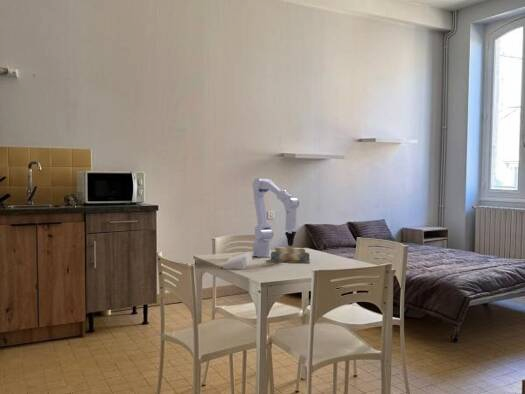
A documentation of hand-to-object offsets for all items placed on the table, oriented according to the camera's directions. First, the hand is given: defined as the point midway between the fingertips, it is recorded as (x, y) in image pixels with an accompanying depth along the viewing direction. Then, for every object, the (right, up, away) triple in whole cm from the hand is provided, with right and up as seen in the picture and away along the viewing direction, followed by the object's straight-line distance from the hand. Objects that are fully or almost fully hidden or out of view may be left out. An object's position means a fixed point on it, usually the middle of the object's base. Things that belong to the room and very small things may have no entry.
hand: (290, 245), depth 274 cm
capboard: (0, -8, 0) cm, 8 cm away
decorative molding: (-27, -9, -11) cm, 31 cm away
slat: (0, -7, 0) cm, 7 cm away
